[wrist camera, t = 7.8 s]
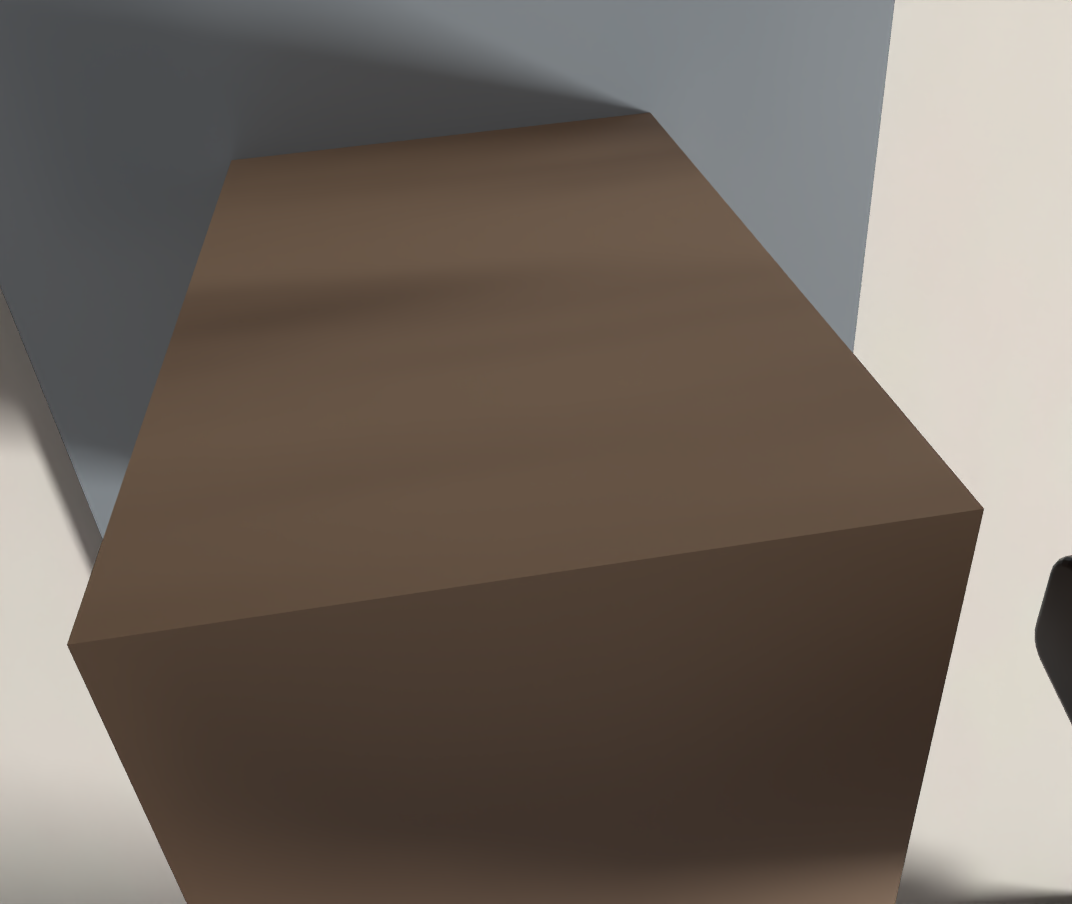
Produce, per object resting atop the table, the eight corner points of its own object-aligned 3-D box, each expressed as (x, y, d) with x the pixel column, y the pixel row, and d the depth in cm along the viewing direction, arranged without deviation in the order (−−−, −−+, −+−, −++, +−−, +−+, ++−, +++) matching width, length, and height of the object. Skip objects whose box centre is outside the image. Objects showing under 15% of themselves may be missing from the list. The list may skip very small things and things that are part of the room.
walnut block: (652, 452, 15) (876, 981, 8) (314, 500, 15) (275, 1093, 8) (650, 112, 12) (983, 507, 6) (231, 160, 12) (66, 644, 5)
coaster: (813, 556, 18) (825, 579, 17) (166, 653, 17) (160, 680, 16) (893, -199, 11) (918, -198, 11) (-131, -104, 10) (-155, -97, 10)
